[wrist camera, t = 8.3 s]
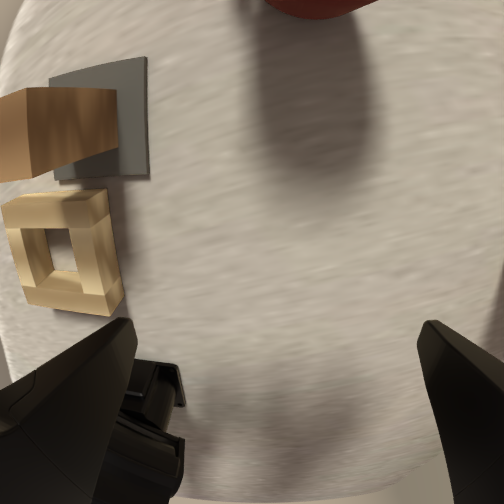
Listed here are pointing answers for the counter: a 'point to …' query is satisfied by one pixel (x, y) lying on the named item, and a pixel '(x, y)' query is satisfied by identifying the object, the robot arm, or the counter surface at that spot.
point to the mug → (318, 7)
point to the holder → (84, 247)
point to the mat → (128, 119)
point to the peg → (54, 128)
